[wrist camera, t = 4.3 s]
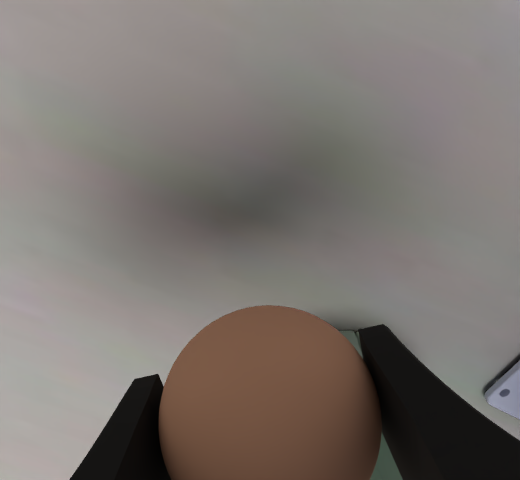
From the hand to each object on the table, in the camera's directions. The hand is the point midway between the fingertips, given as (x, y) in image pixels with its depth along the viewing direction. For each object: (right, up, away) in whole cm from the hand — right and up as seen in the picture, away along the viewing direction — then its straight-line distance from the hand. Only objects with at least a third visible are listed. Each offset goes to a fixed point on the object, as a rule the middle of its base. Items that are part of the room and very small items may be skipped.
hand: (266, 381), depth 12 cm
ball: (0, -1, -1) cm, 1 cm away
